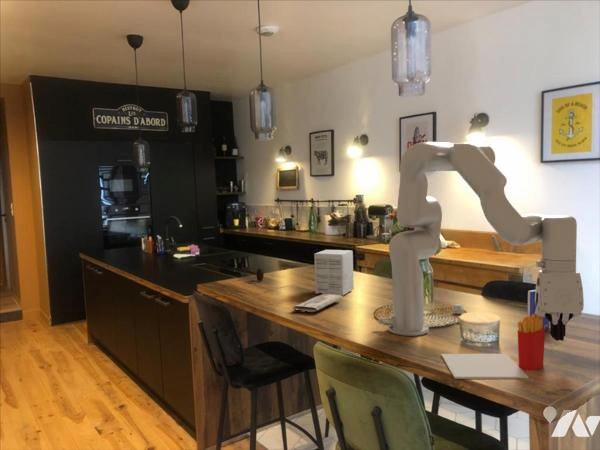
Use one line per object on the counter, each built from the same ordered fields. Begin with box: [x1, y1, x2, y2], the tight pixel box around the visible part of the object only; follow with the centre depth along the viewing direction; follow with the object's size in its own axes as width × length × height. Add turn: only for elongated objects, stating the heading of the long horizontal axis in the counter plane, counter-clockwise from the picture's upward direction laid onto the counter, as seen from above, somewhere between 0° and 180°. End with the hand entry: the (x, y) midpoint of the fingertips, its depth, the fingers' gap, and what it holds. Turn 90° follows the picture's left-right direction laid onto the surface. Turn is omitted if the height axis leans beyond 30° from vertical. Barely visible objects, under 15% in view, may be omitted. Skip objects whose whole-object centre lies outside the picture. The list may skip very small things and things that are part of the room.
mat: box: [440, 353, 530, 380], centre depth 127 cm, size 17×16×1 cm
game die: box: [452, 303, 464, 315], centre depth 178 cm, size 4×4×3 cm
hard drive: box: [527, 289, 550, 330], centre depth 156 cm, size 2×8×12 cm, turn 114°
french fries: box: [517, 314, 546, 372], centre depth 125 cm, size 9×4×13 cm, turn 127°
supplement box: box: [313, 249, 355, 296], centre depth 219 cm, size 13×13×18 cm
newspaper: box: [292, 294, 344, 313], centre depth 195 cm, size 23×12×2 cm, turn 150°
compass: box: [246, 267, 265, 285], centre depth 240 cm, size 8×8×7 cm
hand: (557, 338), depth 125 cm, fingers closed
